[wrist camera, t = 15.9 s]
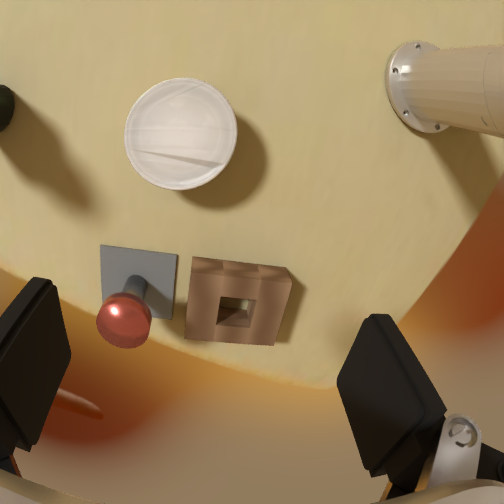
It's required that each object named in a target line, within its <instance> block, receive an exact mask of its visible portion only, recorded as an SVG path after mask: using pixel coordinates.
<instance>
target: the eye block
mask: <svg viewBox="0 0 504 504" xmlns="http://www.w3.org/2000/svg"><path fill="white" fill-rule="evenodd" d="M291 287H292V281H291V279H290V276H289V274H288V272H287V270H286V267H277V266H268V265H260V264H251V263H243V262H235V261H226V260H218V259H210V258H202V257H193V258H192V267H191V275H190V284H189V294H188V303H187V313H186V324H185V336H184V339H193V340H203V341H214V342H225V343H238V344H252V345H269V346H274V343H275V340H276V337H277V334H278V330H279V327H280V324H281V320H282V317H283V314H284V310H285V307H286V304H287V300H288V297H289V294H290V290H291ZM221 296H222V297H232V298H242V299H249V303H248V307H247V310H242V309H231V308H221V307H219V303H220V297H221Z"/></svg>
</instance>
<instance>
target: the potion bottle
mask: <svg viewBox="0 0 504 504" xmlns="http://www.w3.org/2000/svg"><path fill="white" fill-rule="evenodd" d="M13 110H14V100H13V95H12V93H11V91H10V89H9V88H7V87H6V86H4V85H0V132H1V131H3V130H4V129H5V128H6V126H7V125H8V124H9V122H10V120H11V118H12V115H13Z"/></svg>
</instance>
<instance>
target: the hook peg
mask: <svg viewBox="0 0 504 504" xmlns="http://www.w3.org/2000/svg"><path fill="white" fill-rule="evenodd" d="M147 288H148V284H147V281H146V280H145V279H144V278H143V277H142V276H140V275H131V276H130V277H128V278H127V280H126V283H125V285H124V287H123V290H122V292H119V293H114V294H112V295H110V296H108V297H107V298H106V299H105V301H104V302H103V304H102V307H101V309H100V311H99V313H98V315H97V320H96V324H97V328H98V331H99V333H100V334H101V336H102V337H103V338H104V339H105V340H106V341H108V342H109V343H111V344H112V345H115V346H117V347H120V348H136V347H138V346H140V345H142V344H143V343H144V342H145V341H146V340H147V338H148V335H149V330H150V326H151V321H152V315H151V311H150V309H149V307H148V306H147V304H146V303H145V302H144V298H145V295H146V291H147Z"/></svg>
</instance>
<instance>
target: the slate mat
mask: <svg viewBox="0 0 504 504" xmlns="http://www.w3.org/2000/svg"><path fill="white" fill-rule="evenodd" d="M100 257H101V284H102V300H103V302H104V301H105V299H106V298H107V297H108V296H110V295H112V294H114V293H119V292H122V290H123V287H124V285H125V283H126V280H127V278H128V277H130V276H131V275H140V276H142V277H143V278H144V279H145V280H146V281H147V284H148V288H147V291H146V295H145V298H144V302H145V303H146V304H147V306H148V307H149V309H150V311H151V315H152V317H154V318H162V319H170V320H172V307H173V293H174V281H175V269H176V258H177V254H169V253H161V252H154V251H146V250H138V249H130V248H122V247H115V246H107V245H100Z"/></svg>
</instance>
